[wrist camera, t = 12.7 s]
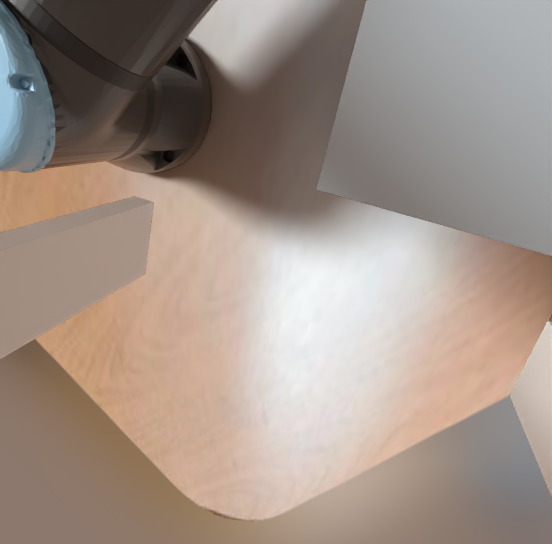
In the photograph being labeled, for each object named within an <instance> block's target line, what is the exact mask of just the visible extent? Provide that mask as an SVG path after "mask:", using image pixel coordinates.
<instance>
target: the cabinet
mask: <svg viewBox="0 0 552 544" xmlns="http://www.w3.org/2000/svg"><path fill="white" fill-rule="evenodd" d="M316 190H320V191H323V192H327V193H330V194H334V195H337V196H341V197H344V198H348V199H351V200H355V201H359V202H362V203H366V204H369V205H373V206H376V207H380V208H383V209H387V210H390V211H394V212H397V213H401V214H404V215H408V216H412V217H415V218H419V219H422V220H426V221H429V222H433V223H436V224H440V225H443V226H447V227H450V228H454V229H457V230H461V231H465V232H468V233H472V234H475V235H479V236H482V237H486V238H489V239H493V240H496V241H500V242H503V243H507V244H510V245H514V246H518V247H521V248H525V249H528V250H532V251H535V252H539V253H542V254H546V255H549V256H552V0H366V3H365V7H364V11H363V15H362V18H361V22H360V26H359V30H358V33H357V37H356V41H355V45H354V48H353V52H352V56H351V60H350V63H349V67H348V71H347V75H346V78H345V82H344V86H343V90H342V94H341V97H340V101H339V105H338V109H337V112H336V116H335V120H334V124H333V127H332V131H331V135H330V139H329V142H328V146H327V150H326V154H325V157H324V161H323V165H322V169H321V172H320V176H319V180H318V184H317V187H316Z"/></svg>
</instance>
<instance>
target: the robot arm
mask: <svg viewBox="0 0 552 544" xmlns="http://www.w3.org/2000/svg"><path fill="white" fill-rule="evenodd" d="M216 2H217V0H0V172H2V171H20V172H23V173H32V172H36V171H39V170H40V169H46V168H54V167H62V166H70V165H79V164H87V163H96V162H104V161H107V162H109V163H111V164H114V165H116V166H118V167H121V168H123V169H126V170H129V171H133V172H139V173H153V172H159V171H165V170H169V169H172V168H175V167H177V166H179V165H180V164H182V163H184V162H185V161H186V160H188V159H189V158H190V157H191V156H192V155H193V154H194V153H195V152H196V150H197V149H198V148H199V146H200V145H201V143H202V141H203V139H204V137H205V135H206V132H207V129H208V126H209V122H210V117H211V107H212V100H211V90H210V84H209V80H208V77H207V74H206V71H205V69H204V66H203V64H202V62H201V60H200V58H199V57H198V55H197V54H196V52H195V51H194V49H193V48H192V47H191V46H190V45H189V44H188V42H187V41H185V39H186V38H187V37H188V36H189V34H190V33H191V32H192V31H193V30H194V28H195V27H196V26H197V25H198V24H199V22H200V21H201V20H202V19H203V17H204V16H205V15H206V14H207V13H208V11H209V10H210V9H211V8H212V7H213V5H214V4H215V3H216ZM153 206H154V202H151V201H148V200H145V199H141V198H138V197H135V196H134V197H131V198H127V199H123V200H119V201H116V202H112V203H108V204H105V205H101V206H97V207H93V208H90V209H86V210H82V211H79V212H75V213H71V214H67V215H64V216H60V217H56V218H53V219H49V220H45V221H41V222H38V223H34V224H30V225H27V226H23V227H19V228H16V229H12V230H8V231H4V232H1V233H0V359H1V358H3V357H5V356H6V355H8V354H10V353H11V352H13V351H14V350H17V349H18V348H20V347H22V346H23V345H25V344H27V343H28V342H30V341H32V340H34V339H35V338H37V337H39V336H40V335H42V334H44V333H45V332H47V331H49V330H51V329H52V328H54V327H56V326H57V325H59V324H61V323H63V322H64V321H66V320H68V319H69V318H71V317H73V316H74V315H76V314H78V313H80V312H81V311H83V310H85V309H86V308H88V307H90V306H91V305H93V304H95V303H97V302H98V301H100V300H102V299H103V298H105V297H107V296H108V295H110V294H112V293H114V292H115V291H117V290H119V289H120V288H122V287H124V286H126V285H127V284H129V283H131V282H132V281H134V280H136V279H137V278H139V277H141V276H143V275H144V274H145V271H146V263H147V255H148V247H149V239H150V231H151V223H152V214H153ZM510 397H511V400H512V402H513V405H514V406H515V409H516V412H517V414H518V417H519V419H520V422H521V424H522V426H523V429H524V431H525V434H526V436H527V438H528V441H529V443H530V446H531V448H532V451H533V453H534V455H535V458H536V460H537V463H538V465H539V468H540V470H541V472H542V475H543V477H544V479H545V482H546V484H547V487H548V489H549V492H550V494H551V496H552V322H550V321H547V323H546V325H545V327H544V329H543V331H542V333H541V335H540V337H539V339H538V341H537V342H536V344H535V346H534V348H533V350H532V352H531V354H530V356H529V358H528V360H527V362H526V364H525V366H524V368H523V370H522V371H521V373H520V375H519V377H518V379H517V381H516V383H515V385H514V387H513V389H512V391H511V393H510Z"/></svg>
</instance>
